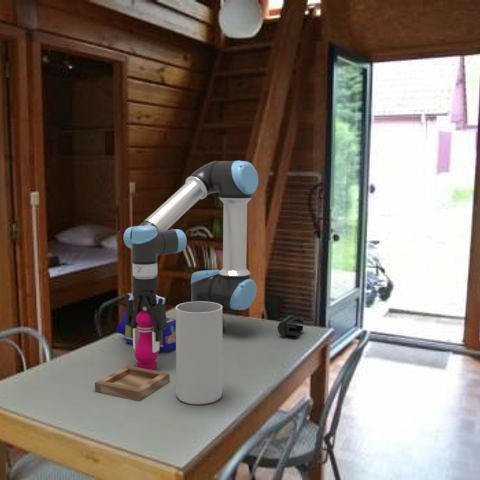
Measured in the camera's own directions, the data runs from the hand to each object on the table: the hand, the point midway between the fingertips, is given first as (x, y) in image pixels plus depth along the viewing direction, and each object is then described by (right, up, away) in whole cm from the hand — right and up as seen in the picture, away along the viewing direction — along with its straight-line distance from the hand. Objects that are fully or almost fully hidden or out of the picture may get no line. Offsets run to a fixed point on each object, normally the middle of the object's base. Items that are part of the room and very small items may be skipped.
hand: (146, 349), depth 170 cm
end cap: (+48, -2, +36) cm, 60 cm away
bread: (-3, -3, +24) cm, 25 cm away
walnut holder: (-1, -8, -14) cm, 16 cm away
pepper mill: (0, -6, +1) cm, 6 cm away
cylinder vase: (+18, -9, -20) cm, 29 cm away
